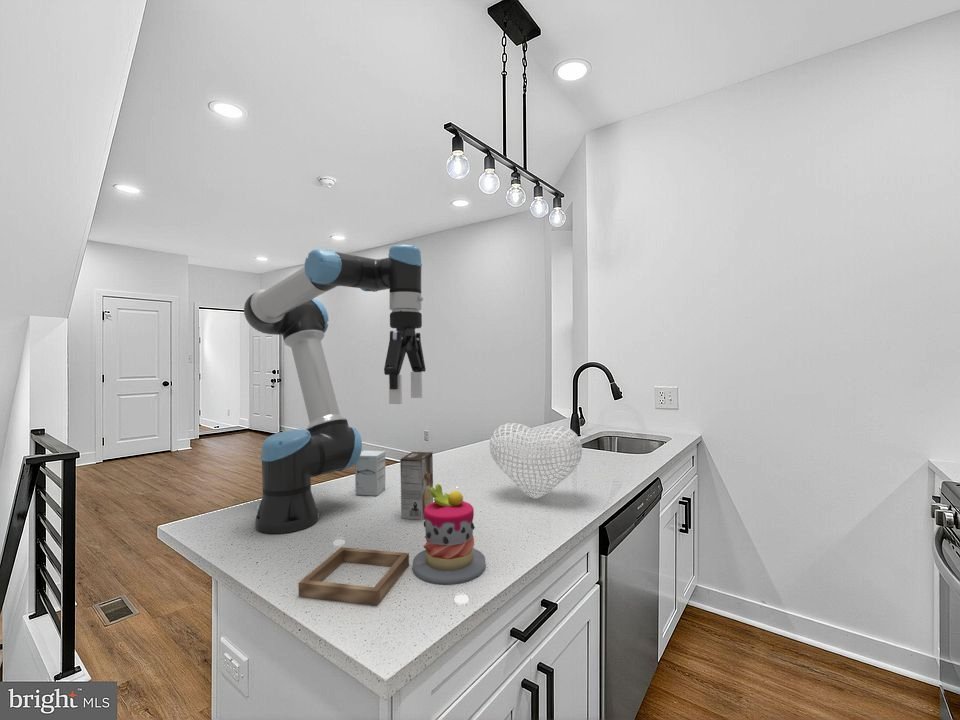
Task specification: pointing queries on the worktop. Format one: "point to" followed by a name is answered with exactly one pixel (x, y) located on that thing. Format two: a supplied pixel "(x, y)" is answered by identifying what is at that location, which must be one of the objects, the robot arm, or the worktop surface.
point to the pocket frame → (354, 593)
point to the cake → (448, 531)
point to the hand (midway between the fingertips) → (406, 400)
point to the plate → (448, 576)
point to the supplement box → (370, 473)
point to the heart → (537, 431)
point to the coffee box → (416, 484)
